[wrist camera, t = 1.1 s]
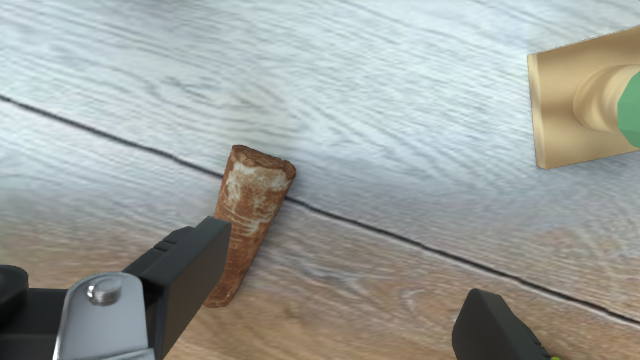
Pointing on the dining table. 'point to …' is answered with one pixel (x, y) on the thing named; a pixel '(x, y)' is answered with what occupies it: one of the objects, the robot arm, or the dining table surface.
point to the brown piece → (247, 212)
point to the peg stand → (581, 97)
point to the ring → (630, 111)
